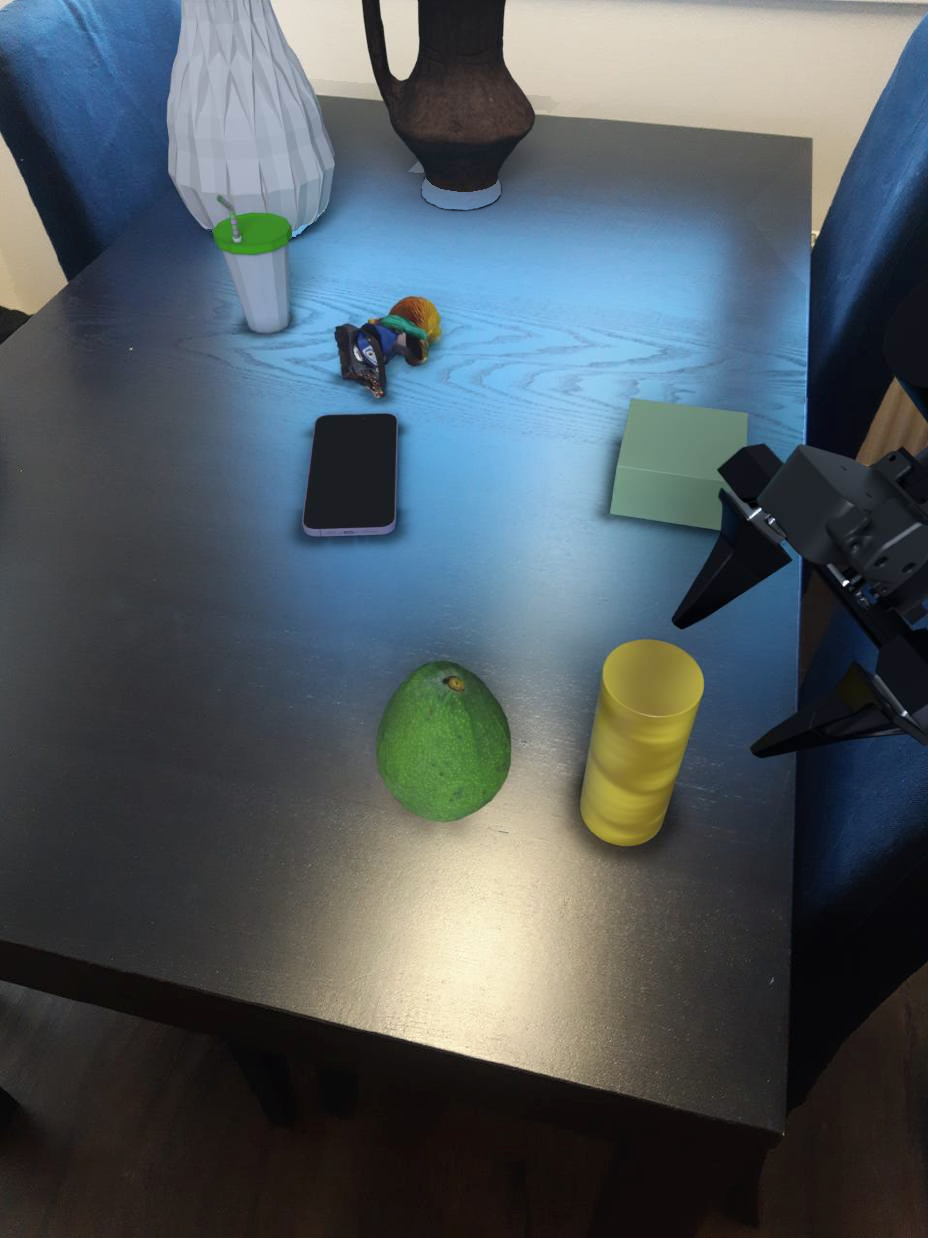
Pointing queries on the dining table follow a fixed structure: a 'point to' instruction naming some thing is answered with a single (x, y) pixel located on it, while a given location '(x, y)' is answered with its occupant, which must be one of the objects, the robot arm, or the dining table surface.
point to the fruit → (443, 743)
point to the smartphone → (352, 476)
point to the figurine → (388, 342)
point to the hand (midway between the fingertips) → (712, 685)
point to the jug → (453, 92)
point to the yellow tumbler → (638, 739)
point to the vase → (244, 118)
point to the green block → (675, 462)
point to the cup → (258, 265)
